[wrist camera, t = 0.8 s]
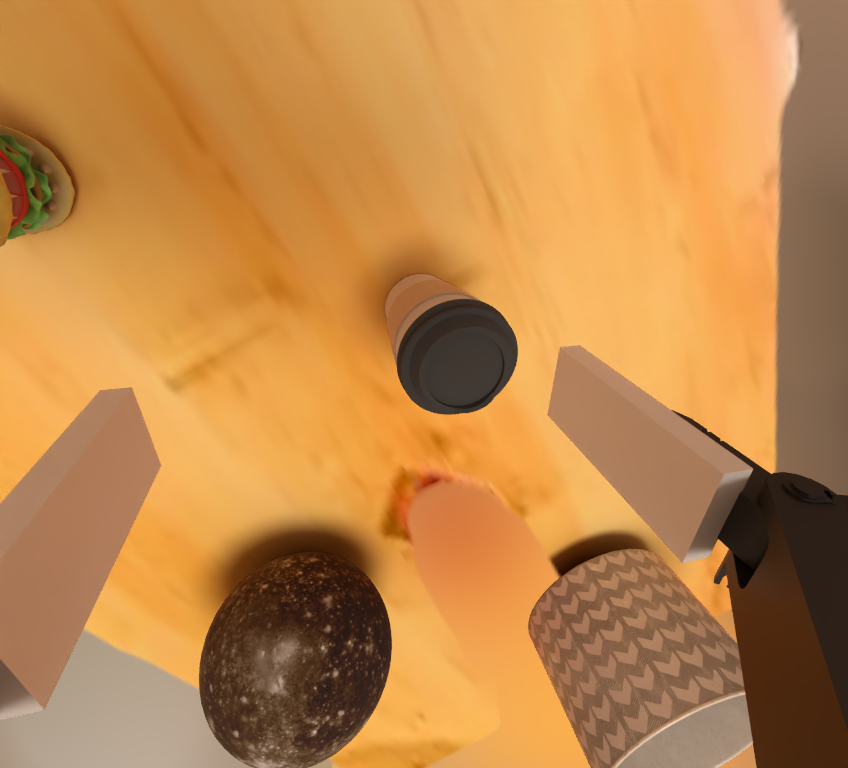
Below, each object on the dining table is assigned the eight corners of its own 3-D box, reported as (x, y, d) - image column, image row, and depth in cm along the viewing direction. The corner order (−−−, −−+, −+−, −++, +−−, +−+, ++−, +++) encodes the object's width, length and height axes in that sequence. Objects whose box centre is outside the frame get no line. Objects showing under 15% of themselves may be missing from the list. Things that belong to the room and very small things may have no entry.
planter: (657, 510, 67) (810, 664, 46) (642, 601, 80) (757, 753, 59) (513, 558, 64) (608, 745, 43) (521, 645, 76) (598, 822, 56)
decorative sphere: (187, 599, 52) (127, 814, 35) (278, 492, 48) (260, 677, 31) (321, 634, 62) (326, 817, 44) (407, 547, 57) (449, 712, 40)
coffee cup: (361, 278, 39) (386, 337, 26) (451, 248, 40) (519, 290, 27) (389, 361, 43) (423, 445, 31) (470, 332, 44) (535, 403, 31)
